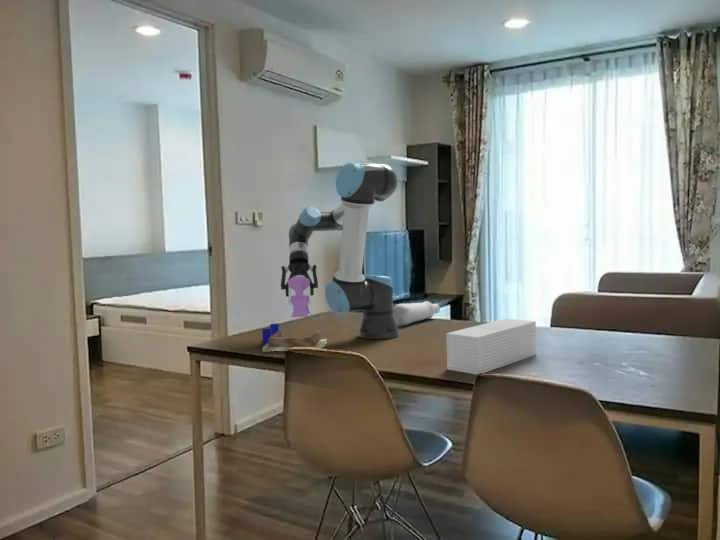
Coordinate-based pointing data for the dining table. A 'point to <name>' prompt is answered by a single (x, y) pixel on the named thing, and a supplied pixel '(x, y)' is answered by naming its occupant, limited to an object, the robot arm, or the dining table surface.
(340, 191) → the robot arm
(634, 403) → the dining table surface
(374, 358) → the dining table surface
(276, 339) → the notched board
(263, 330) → the cable clip
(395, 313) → the bottle
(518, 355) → the stack of papers
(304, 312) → the purple upright piece
